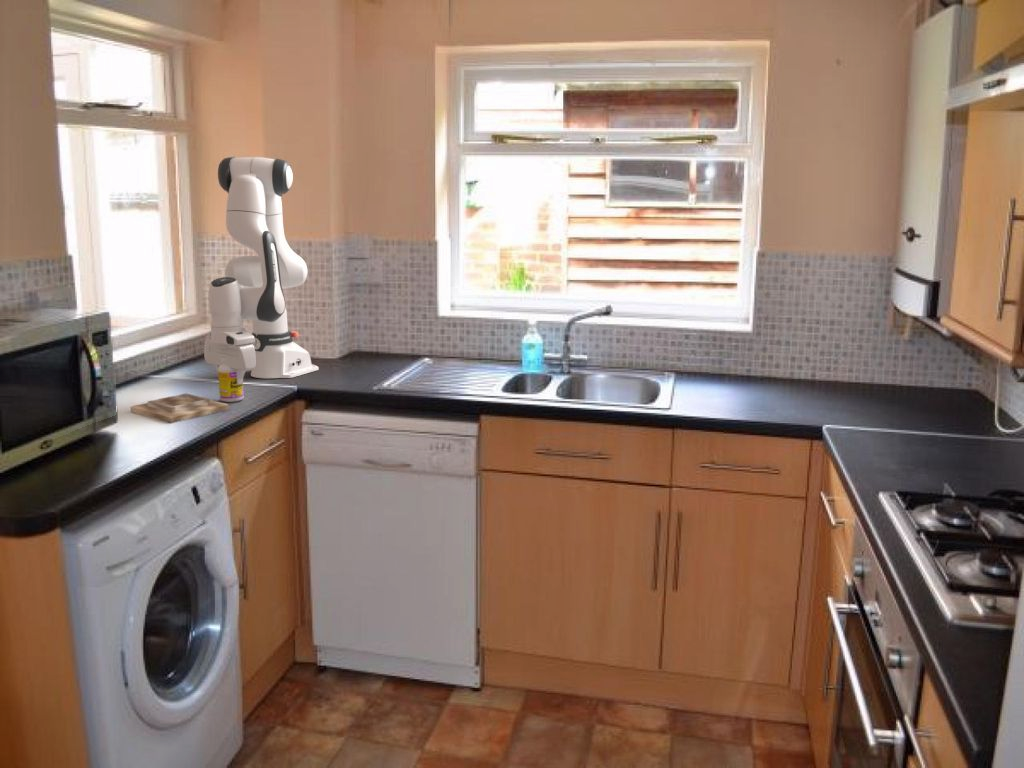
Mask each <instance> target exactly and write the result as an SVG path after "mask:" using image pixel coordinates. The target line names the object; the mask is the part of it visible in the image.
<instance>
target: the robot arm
mask: <svg viewBox="0 0 1024 768" xmlns="http://www.w3.org/2000/svg"><path fill="white" fill-rule="evenodd" d="M291 166H292V165H290V163H289V162H288V161H287V160H284V159H282V158H281V159H280V158H275V159H274V158H269V157H262V156H248V157H247V156H243V157H241V156H240V157H235V156H231V157H225V158H223V159H222V160H221V161H220V162H219V164H218V168H217V179H218V183H219V186H220V188H222V190H223V191H224V192H227V194H228V195H227V200H226V209H225V210H226V211H225V212H226V214H225V226H226V230H227V232H228V234H229V236H231V238H232V239H233V240H235V241H236V242H238V243H239V244H241V245H243V246H245V247H247V248H249V249H251V250H252V251H254V252H255V253H256V254H257V255H243V256H240V257H235V258H232V259H230V260H229V261H228V262H227V263H226V266H225V269H224V276H223V277H219V278H218V277H217V278H215V279H214V280H212V281H211V282H210V283H209V290H208V311H209V313H210V317H211V321H210V331H209V332H208V333H207V334H206V335H205V340H204V345H203V347H204V348H203V349H204V350H203V351H204V353H203V354H204V355H203V356H204V361H205V362H206V364H210V365H214V369H215V370H216V373H217V374H218V367H219V366H220V365H222V362H221V357H223V358H227V362H226V365H227V367H229V368H232V369H236V373H237V378H235V383H236V384H243V385H244V377H245V374H246V372H248V371H251V373H250V377H253V378H257V379H292V378H295V377H299V376H302V375H307V374H308V373H312V372H316V371H319V369H320V368H319V366H317V365H315V364H313V363H312V360H311V355H310V353H309V351H308V350H306V349H305V348H304V347H301V345H299V344H297V343H296V342H294V339H293V338H295V339H297V338H298V337H299V335H300V334H299V332H298V331H290V330H289V325H288V310H287V308H286V299H285V295H284V291H283V290H284V289H291V288H296V287H299V286H303V285H304V284H305V283H306V280H307V277H308V272H309V271H308V267H307V263H306V262H305V260H304V259H303V258H302V257H301V256H299V255H298V254H297V253H296V252H294V250H293V249H292V248H291V247H290V246H289V245H290V244H288V241H287V239H286V235H285V230H284V229H285V228H284V221H283V220H284V219H283V217H284V215H283V205H282V204H283V203H282V196H283V195H285V194H287V193H288V192H289V191H290V190H291V188H292V184H293V181H294V179H293V178H294V176H293V175H294V174H293V171H292V167H291ZM243 320H248V321H249V320H250V321H251V323H252V324H251V325H252V333H250V332H249V331H248V330H247V329H246V328H244V324H243Z"/></svg>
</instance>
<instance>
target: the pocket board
mask: <svg viewBox="0 0 1024 768" xmlns="http://www.w3.org/2000/svg"><path fill="white" fill-rule="evenodd" d="M129 408H130V410H129V411H130V412H131V413H133V412H134V413H133V414H137V413H138V415H140V414H141V415H140V416H144V417H149V418H151V419H154V418H155V420H158V419H159V420H158V421H162V422H165V421H166V423H169V422H170V423H169V424H174V423H178V421H179V422H182V421H181V420H183V421H186V419H187V420H191V419H195V418H194V417H196V418H200V417H203V416H208V414H209V415H213V414H216V412H217V413H220V412H219V411H221V412H224V411H223V410H226V411H229V410H230V404H228V403H226V402H219V401H215V400H212V399H210V398H206V397H202V396H198V395H194V394H190V393H188V392H187V393H186V392H185V393H181V394H176V395H171V396H166V397H161V398H158V399H153V400H148V401H147V402H145V403H141V404H136V405H132V406H129ZM228 409H229V410H228ZM212 413H213V414H212ZM199 416H200V417H199ZM190 418H191V419H190Z"/></svg>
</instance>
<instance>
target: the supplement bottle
mask: <svg viewBox="0 0 1024 768" xmlns="http://www.w3.org/2000/svg"><path fill="white" fill-rule="evenodd" d="M221 362H222V365H220V366H219V367H218V373H217V376H218V389H219V400H220V401H222V402H223V403H235V402H239V401H242V400H244V397H245V396H244V395H245V394H244V383H243V384H236V383H235V378H237V373H236V369H232V368H229V367H227V365H226V362H227V358H223V357H221Z"/></svg>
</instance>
